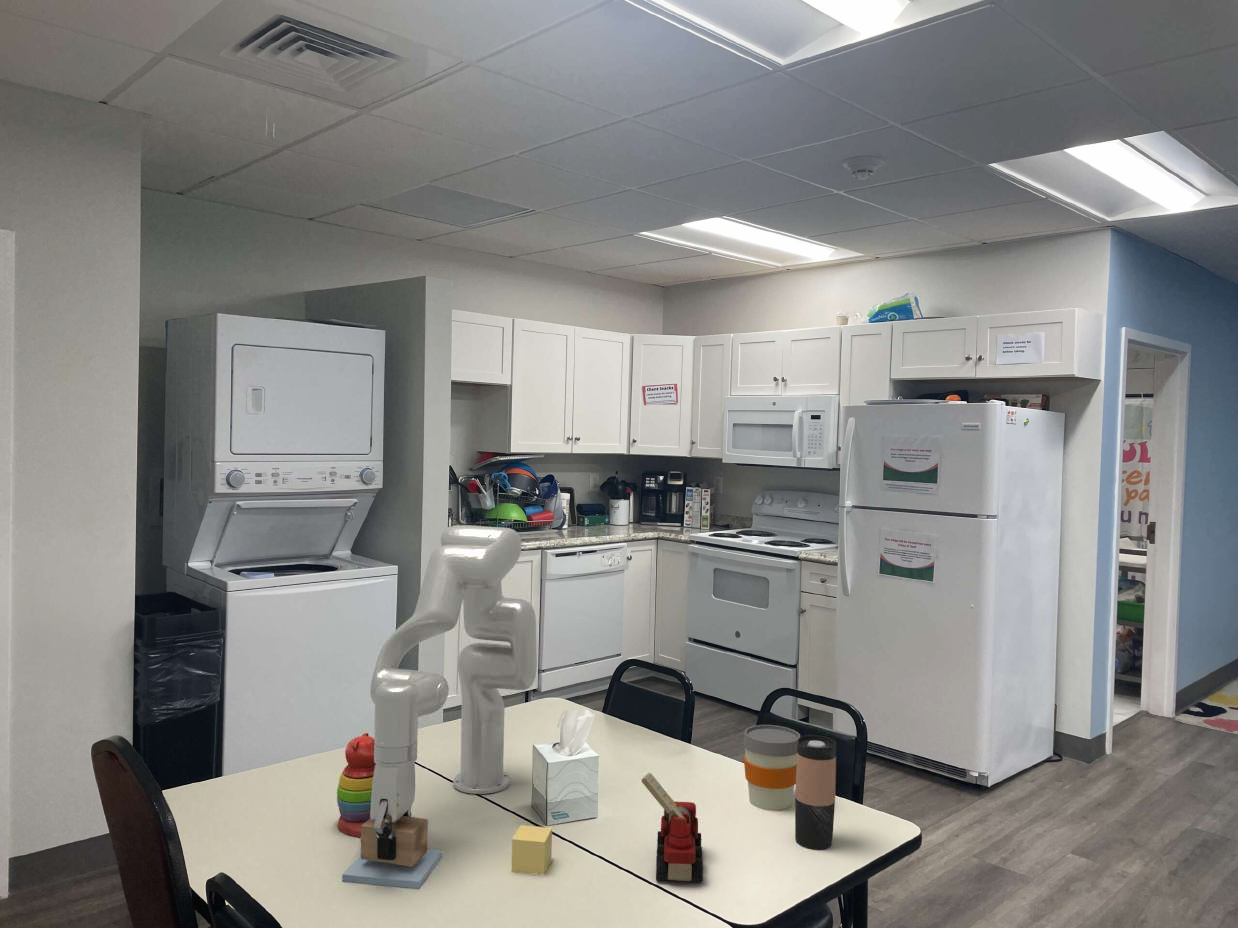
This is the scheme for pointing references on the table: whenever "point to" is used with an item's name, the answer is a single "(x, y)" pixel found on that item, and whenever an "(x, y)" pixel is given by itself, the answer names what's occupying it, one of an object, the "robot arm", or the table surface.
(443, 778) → the table surface
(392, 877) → the base board
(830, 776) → the travel mug
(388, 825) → the long brick
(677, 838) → the toy fire truck
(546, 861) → the cube brick
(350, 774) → the stacking bear
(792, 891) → the table surface
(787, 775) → the reusable coffee cup
